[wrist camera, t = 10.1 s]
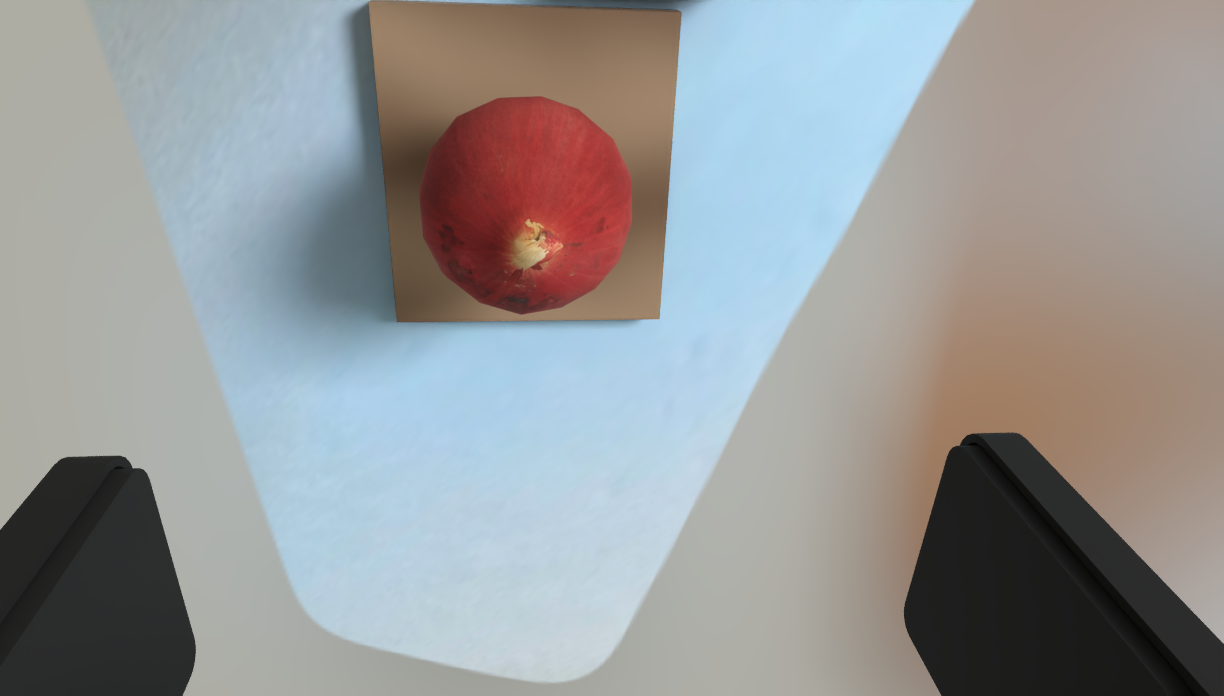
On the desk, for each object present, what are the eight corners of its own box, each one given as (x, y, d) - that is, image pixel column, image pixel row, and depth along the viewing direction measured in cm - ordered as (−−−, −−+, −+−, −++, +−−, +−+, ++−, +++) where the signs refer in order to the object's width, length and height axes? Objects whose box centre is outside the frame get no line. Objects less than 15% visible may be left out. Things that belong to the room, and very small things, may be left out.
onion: (581, 278, 28) (605, 398, 20) (412, 228, 26) (374, 339, 19) (641, 112, 25) (693, 182, 18) (460, 47, 24) (438, 96, 17)
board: (372, -1, 24) (368, 1, 23) (676, 9, 25) (681, 12, 24) (399, 312, 28) (397, 321, 27) (655, 309, 29) (659, 319, 29)
